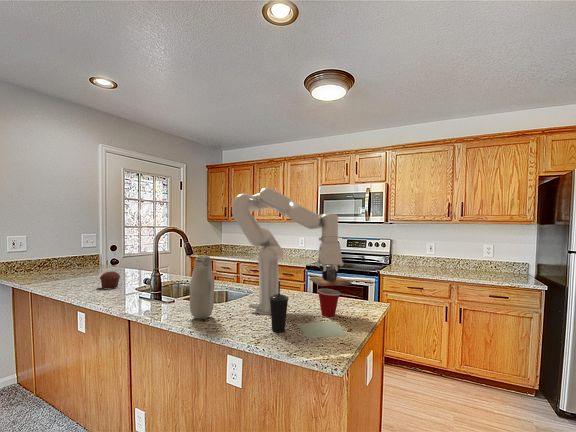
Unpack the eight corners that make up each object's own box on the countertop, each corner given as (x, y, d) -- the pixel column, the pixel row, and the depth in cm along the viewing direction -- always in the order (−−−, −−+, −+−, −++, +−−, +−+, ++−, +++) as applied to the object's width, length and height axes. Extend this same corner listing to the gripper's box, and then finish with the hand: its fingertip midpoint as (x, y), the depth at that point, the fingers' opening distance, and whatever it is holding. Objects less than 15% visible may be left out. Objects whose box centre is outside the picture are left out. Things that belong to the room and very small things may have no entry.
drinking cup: (272, 337, 111) (273, 283, 112) (266, 330, 118) (266, 280, 119) (291, 334, 115) (292, 282, 115) (283, 328, 122) (284, 279, 122)
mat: (308, 340, 109) (308, 338, 109) (296, 325, 124) (296, 323, 125) (348, 337, 113) (348, 335, 113) (332, 323, 128) (332, 321, 128)
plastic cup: (340, 321, 131) (340, 293, 131) (315, 319, 133) (316, 292, 134) (340, 314, 142) (341, 288, 142) (318, 312, 144) (318, 287, 144)
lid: (319, 286, 129) (319, 272, 129) (309, 279, 143) (309, 267, 144) (351, 284, 132) (351, 271, 133) (338, 278, 147) (338, 266, 147)
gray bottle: (184, 320, 130) (186, 255, 130) (199, 313, 139) (201, 253, 140) (203, 323, 126) (204, 257, 127) (217, 316, 136) (218, 254, 136)
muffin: (107, 290, 184) (108, 273, 184) (94, 288, 188) (95, 272, 188) (124, 286, 195) (124, 271, 195) (112, 285, 199) (112, 270, 199)
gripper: (315, 240, 133) (315, 281, 132) (349, 240, 137) (349, 280, 136) (310, 239, 140) (309, 278, 140) (342, 239, 144) (342, 277, 144)
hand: (329, 279), depth 138 cm, fingers closed on lid, 4 cm apart
